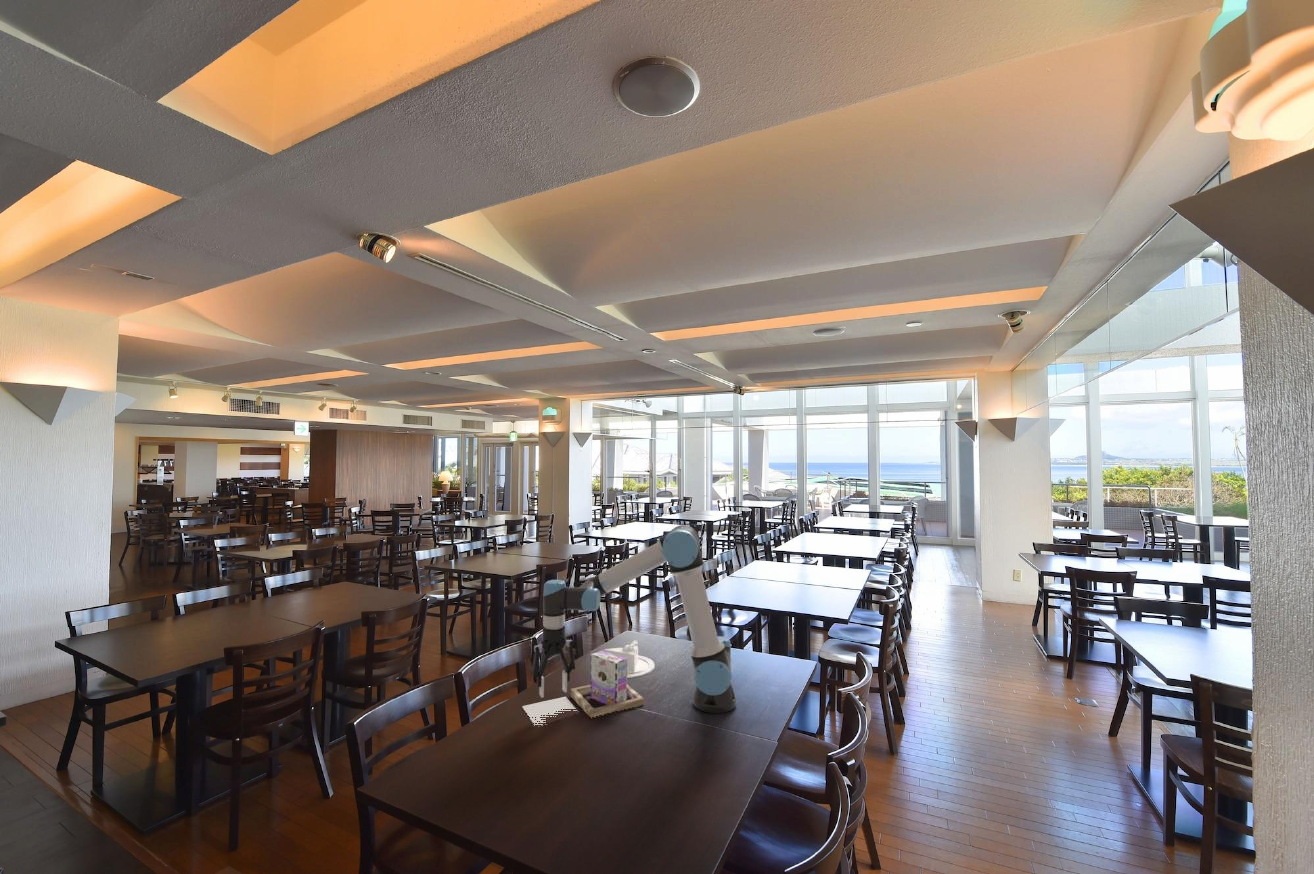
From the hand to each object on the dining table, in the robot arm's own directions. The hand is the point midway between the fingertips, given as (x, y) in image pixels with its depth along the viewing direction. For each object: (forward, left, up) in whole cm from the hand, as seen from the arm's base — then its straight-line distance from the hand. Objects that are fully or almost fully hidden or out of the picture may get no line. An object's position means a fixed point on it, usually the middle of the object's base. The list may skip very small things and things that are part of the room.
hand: (553, 693), depth 183 cm
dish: (+26, -40, -8) cm, 48 cm away
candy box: (0, -21, -7) cm, 22 cm away
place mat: (0, 0, -7) cm, 7 cm away
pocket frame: (0, -20, -7) cm, 21 cm away
